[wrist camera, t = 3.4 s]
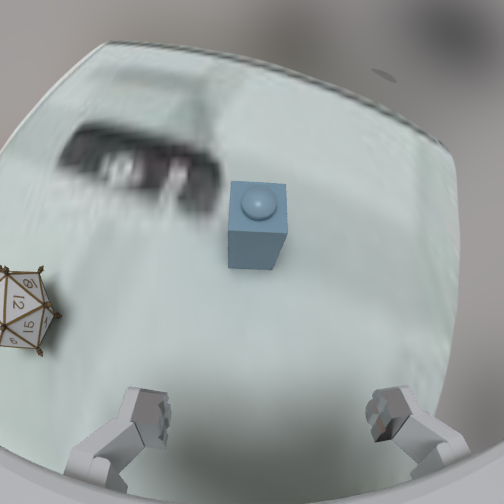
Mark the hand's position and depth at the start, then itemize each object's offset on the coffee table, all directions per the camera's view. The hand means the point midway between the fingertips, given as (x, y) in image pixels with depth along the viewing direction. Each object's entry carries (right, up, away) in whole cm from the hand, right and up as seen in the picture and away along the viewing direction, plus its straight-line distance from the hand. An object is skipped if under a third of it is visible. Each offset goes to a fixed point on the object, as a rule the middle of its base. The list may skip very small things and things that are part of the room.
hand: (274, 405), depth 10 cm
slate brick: (-1, +6, +18) cm, 19 cm away
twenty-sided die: (-22, -1, +14) cm, 26 cm away
